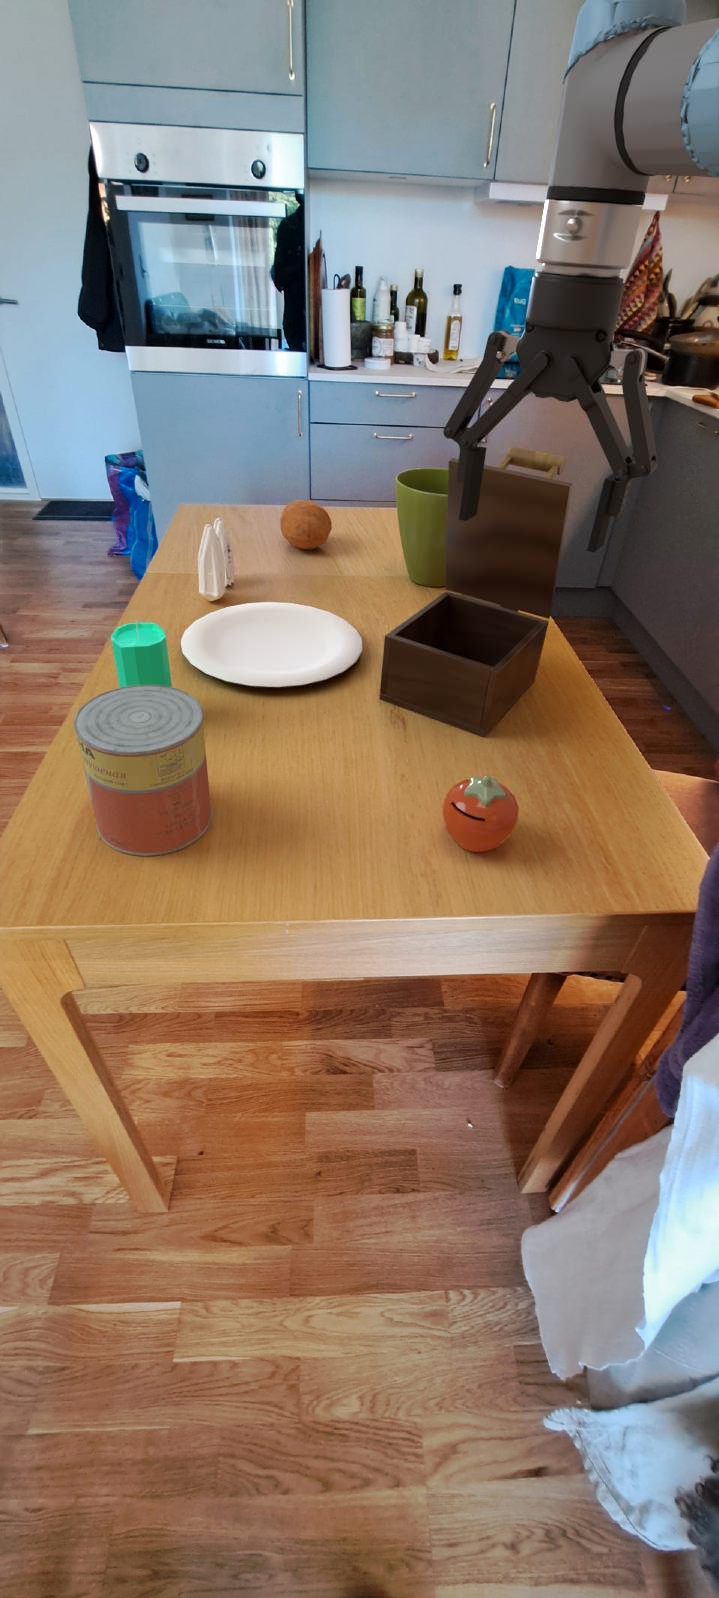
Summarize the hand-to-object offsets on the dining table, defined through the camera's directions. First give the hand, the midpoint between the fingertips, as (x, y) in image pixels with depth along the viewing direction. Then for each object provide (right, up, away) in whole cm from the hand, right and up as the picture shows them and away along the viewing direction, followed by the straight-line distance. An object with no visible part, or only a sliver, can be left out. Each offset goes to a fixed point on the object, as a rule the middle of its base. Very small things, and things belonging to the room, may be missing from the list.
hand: (529, 532), depth 73 cm
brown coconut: (-27, +19, +61) cm, 69 cm away
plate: (-29, -6, +29) cm, 42 cm away
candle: (-42, -17, +15) cm, 48 cm away
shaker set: (-40, +6, +43) cm, 59 cm away
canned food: (-38, -29, 0) cm, 47 cm away
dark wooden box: (-4, -12, +23) cm, 27 cm away
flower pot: (-5, +11, +52) cm, 54 cm away
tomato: (-5, -31, +1) cm, 31 cm away
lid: (0, +5, +16) cm, 17 cm away
